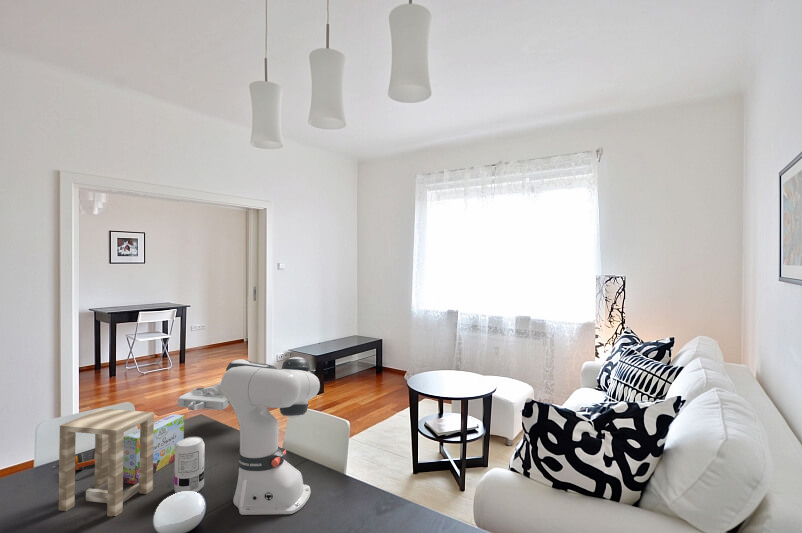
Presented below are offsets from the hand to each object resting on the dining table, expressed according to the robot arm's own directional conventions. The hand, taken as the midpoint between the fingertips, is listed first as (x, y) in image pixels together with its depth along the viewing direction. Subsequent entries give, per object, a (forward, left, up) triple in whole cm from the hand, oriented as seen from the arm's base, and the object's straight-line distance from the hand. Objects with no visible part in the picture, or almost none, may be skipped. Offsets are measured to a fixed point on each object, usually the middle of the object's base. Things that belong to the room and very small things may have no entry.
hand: (191, 408), depth 160 cm
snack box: (0, +19, -14) cm, 24 cm away
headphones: (+23, +21, -14) cm, 35 cm away
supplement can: (-20, +30, -14) cm, 38 cm away
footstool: (0, +39, -14) cm, 41 cm away
